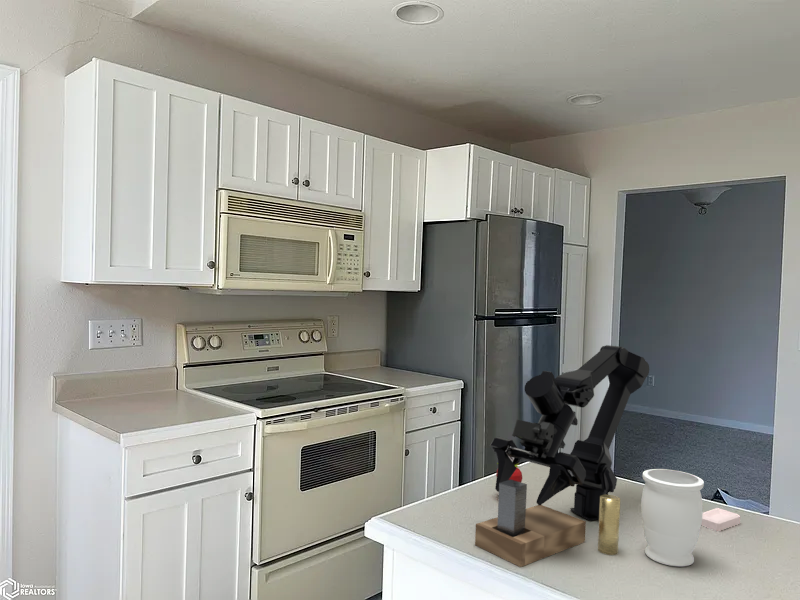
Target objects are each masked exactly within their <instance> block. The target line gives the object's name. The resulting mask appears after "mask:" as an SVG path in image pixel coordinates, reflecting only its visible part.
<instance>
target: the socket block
mask: <svg viewBox="0 0 800 600" xmlns="http://www.w3.org/2000/svg"><path fill="white" fill-rule="evenodd" d="M497 525H498V516H497V517H493V518H490V519H488V520H487V519H486V520H485V521H480V522H477V523H475V535H474V546H476V547H478V548H480V549H482V550H484V551H486V552H489V553H491V554H493V555H494V556H497V557H499V558H502V559H503V560H505V561H506V562H509V563H511V564H513V565H515V566H517V567H519V568H523V567H525V566H528V565H530V564H532V563H535V562H537V561H540V560H542V559H543V560H544V559H545V558H548V557H550V556H552V555H556V554H559V553H560V552H563V551H566V550H568V549H570V548H571V549H572V548H573V547H576V546H578V545H581V544H583V543H586V531H587V530H586V529H587V528H586V527H587V521H586V520H583V519H581V518H579V517H576V516H572V515H570V514H567V513H564V512H561V511H559V510H557V509H553V508H551V507H548V506H545V505H543V504H542V505H538V504H537V505H533V506H530V507H526V516H525V533H524V534H521V535H518V536H515V537H511V536H509V535H507V534H504V533H502V532H500V531H498V530H497ZM555 553H556V554H555Z"/></svg>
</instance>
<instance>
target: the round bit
mask: <svg viewBox="0 0 800 600" xmlns="http://www.w3.org/2000/svg"><path fill="white" fill-rule="evenodd" d="M620 516H621V498H620V497H618V496H617V495H613V494H608V495H601V496H600V509H599V519H598V532H597V533H598V537H597V551H598V552H599V553H601V554H604V555H607V556H608V555H609V556H616V555H618V553H619V539H620V537H619V536H620Z"/></svg>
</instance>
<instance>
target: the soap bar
mask: <svg viewBox="0 0 800 600" xmlns="http://www.w3.org/2000/svg"><path fill="white" fill-rule="evenodd" d="M738 524H740V525H741V515H739V514H738V513H736V512H732V511H729V510H726V509H723V508H719V507H715V508H713V509H710V510H707V511H703V516H702V523H701V525H702V526H705V527H707V528H706V529H708V528H710V529H709V530H711V529H713V530H712V531H714V530H716V531H715V532H717V531H720V532H722V531H721V530H723V529H726V528H729V527H731V528H733V527H732V526H734V527H736V526H735V525H737V526H739V525H738ZM702 526H701V527H702ZM705 527H704V528H705ZM729 529H730V528H729ZM726 530H727V529H726ZM723 531H724V530H723Z"/></svg>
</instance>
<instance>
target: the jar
mask: <svg viewBox="0 0 800 600" xmlns="http://www.w3.org/2000/svg"><path fill="white" fill-rule="evenodd" d="M642 479H643V481H644V482H645V483H644V485H643V489H642V494H641V500H640V513H641V521H642V530H643V536H644V538H645V539H644V540H645V541H646V543H647V545H646V547H645V548H644V553H645V555H646V556H647V557H648V558H649V559H650V560H653V561H654V562H656V563H660V564H662V565H666V566H670V567H689V566H690V565H692V564H694V563H695V558H694V555H693V551H694V550H695V548H696V546H697V544H698V541H699V535H700V531H701V527H702V526H701V523H702V516H703V512H704V511H703V509H704V508H703V507H704V506H703V498H702V493H701V490H702V489H703V488H704V487H705V484H704V480H703V479H702V478H700V477H698V476H697V475H694V474H691V473H689V472H684V471H680V470H676V469H675V470H673V469H666V468H654V469H652V468H651V469H650V468H649V469H646V470H644V471H643V472H642Z"/></svg>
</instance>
